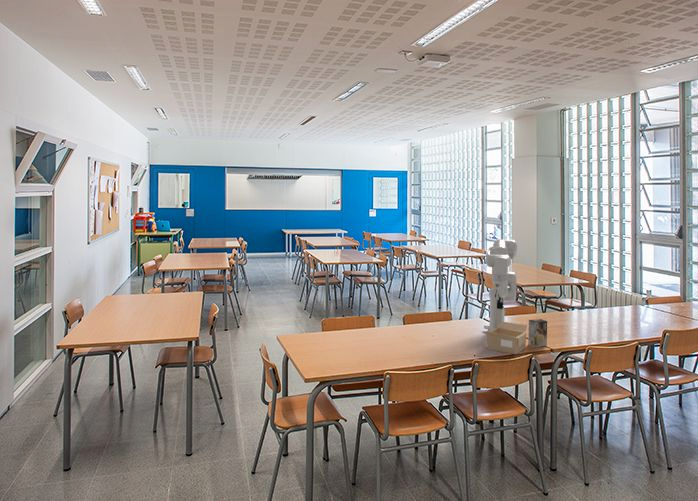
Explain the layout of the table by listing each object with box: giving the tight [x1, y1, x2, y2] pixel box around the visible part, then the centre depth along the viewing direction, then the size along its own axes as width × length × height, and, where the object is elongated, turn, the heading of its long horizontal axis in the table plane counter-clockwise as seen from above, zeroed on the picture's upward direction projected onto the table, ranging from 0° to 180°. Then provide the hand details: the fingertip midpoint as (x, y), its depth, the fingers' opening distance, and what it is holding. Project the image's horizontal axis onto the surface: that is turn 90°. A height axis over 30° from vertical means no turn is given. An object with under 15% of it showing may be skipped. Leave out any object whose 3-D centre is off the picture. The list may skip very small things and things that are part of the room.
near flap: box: [485, 330, 515, 338], centre depth 295 cm, size 16×5×1 cm, turn 52°
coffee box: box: [527, 318, 548, 348], centre depth 310 cm, size 9×6×16 cm
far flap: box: [499, 321, 528, 332], centre depth 312 cm, size 16×5×1 cm
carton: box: [486, 328, 527, 355], centre depth 304 cm, size 19×16×10 cm
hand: (499, 308), depth 292 cm, fingers closed
